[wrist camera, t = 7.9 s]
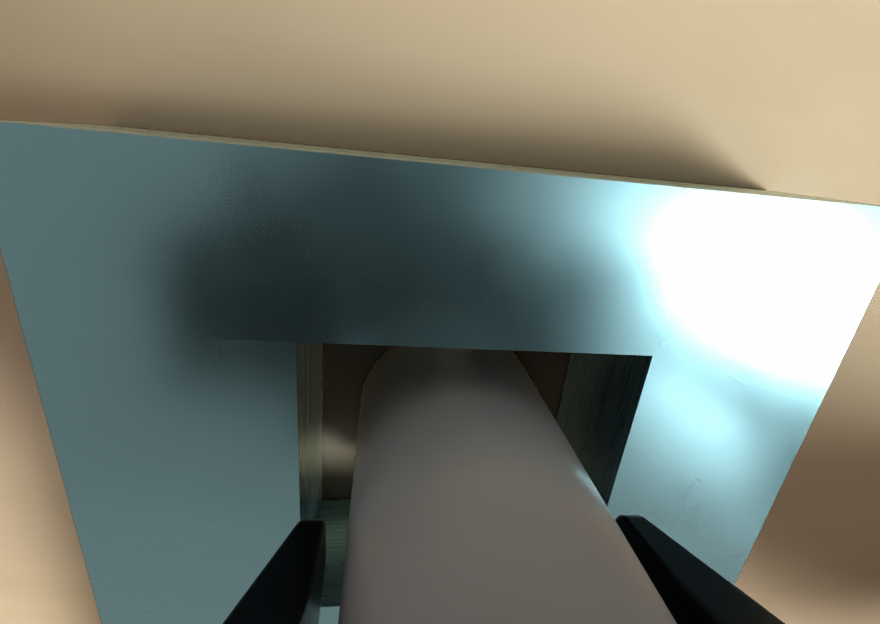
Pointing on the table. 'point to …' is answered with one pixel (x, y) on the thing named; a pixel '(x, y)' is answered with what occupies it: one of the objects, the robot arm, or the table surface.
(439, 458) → the grey cylinder
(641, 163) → the table surface
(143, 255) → the plate
